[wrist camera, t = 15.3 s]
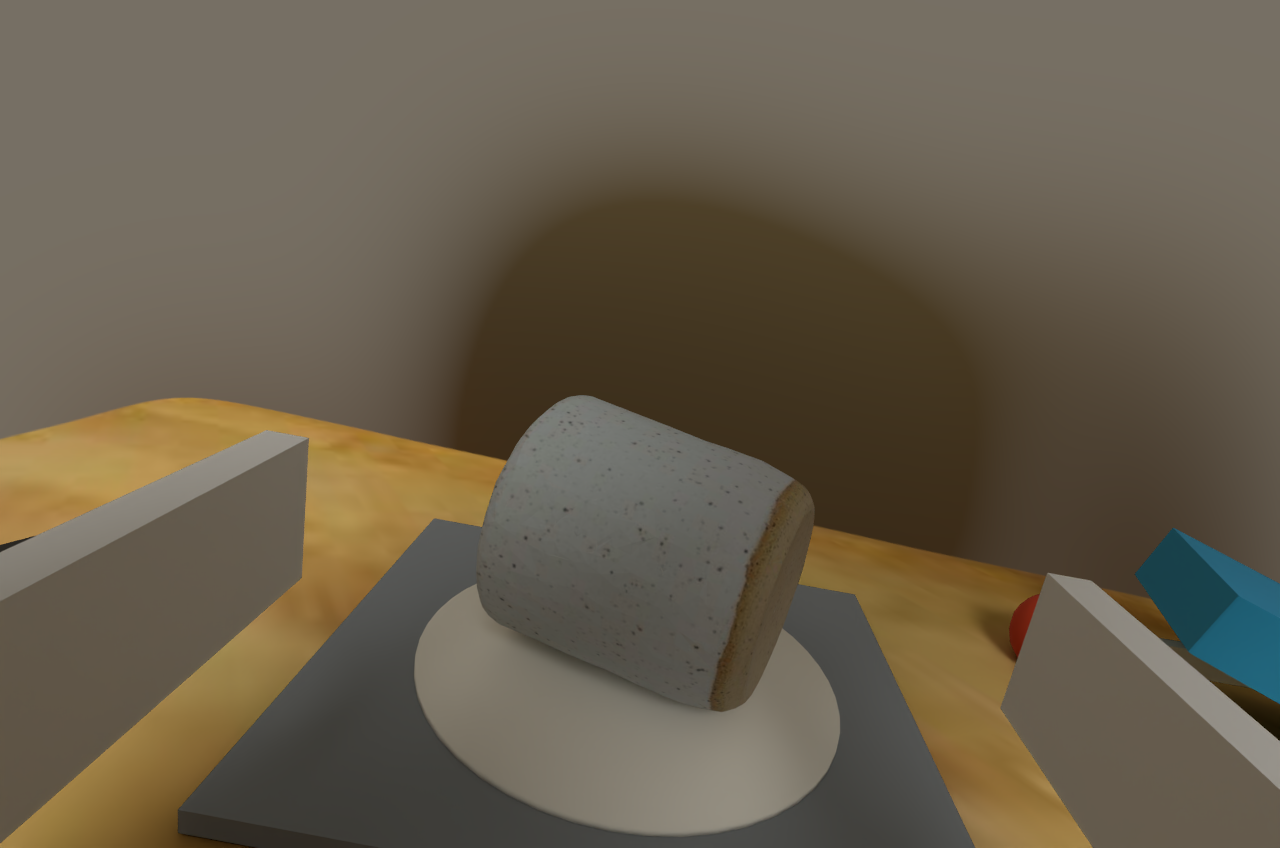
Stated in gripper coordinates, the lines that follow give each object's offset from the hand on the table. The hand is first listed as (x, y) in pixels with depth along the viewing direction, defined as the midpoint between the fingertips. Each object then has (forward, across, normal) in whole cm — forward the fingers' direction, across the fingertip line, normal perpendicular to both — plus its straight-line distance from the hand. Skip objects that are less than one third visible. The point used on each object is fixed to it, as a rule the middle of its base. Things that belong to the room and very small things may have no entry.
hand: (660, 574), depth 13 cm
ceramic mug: (+10, 0, -7) cm, 12 cm away
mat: (+8, 0, -8) cm, 12 cm away
